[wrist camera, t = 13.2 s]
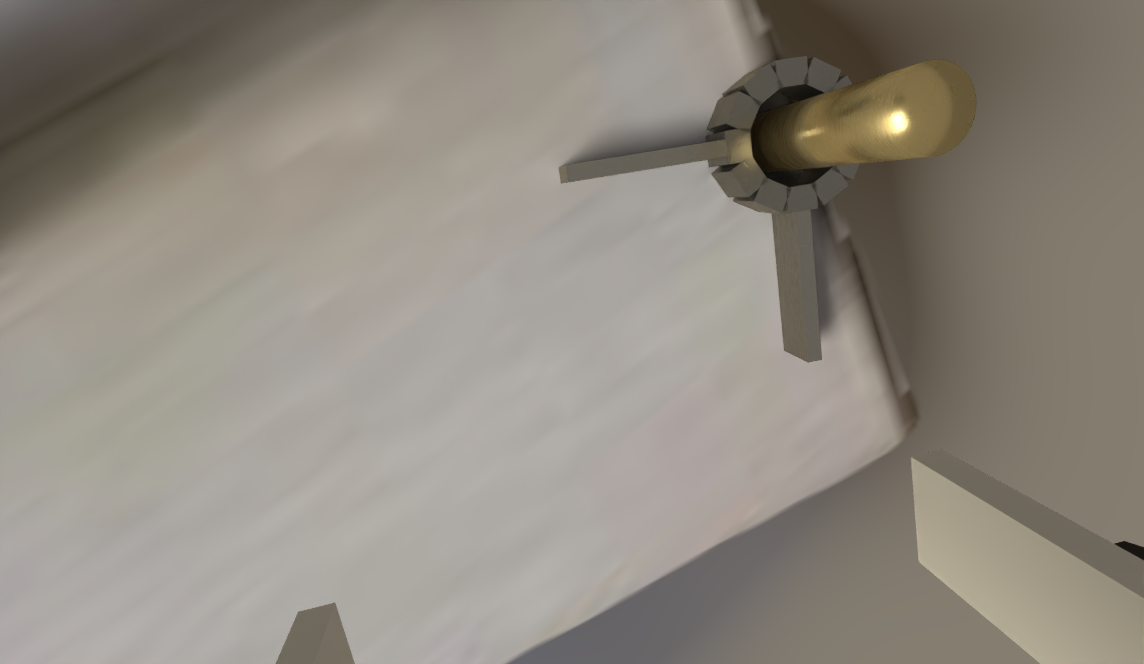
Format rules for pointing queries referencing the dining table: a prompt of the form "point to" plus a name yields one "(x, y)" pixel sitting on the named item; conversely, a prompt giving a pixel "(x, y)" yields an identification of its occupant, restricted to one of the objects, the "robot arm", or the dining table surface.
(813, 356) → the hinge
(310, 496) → the dining table surface
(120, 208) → the dining table surface
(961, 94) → the pin
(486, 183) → the dining table surface
